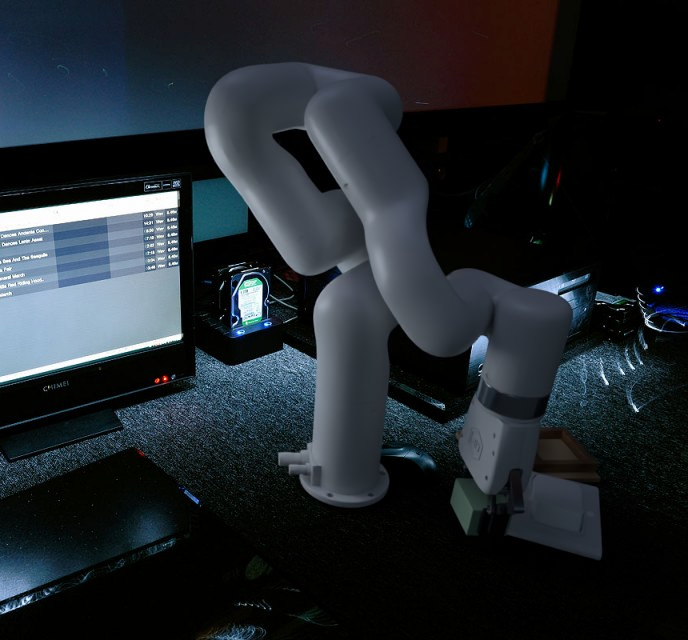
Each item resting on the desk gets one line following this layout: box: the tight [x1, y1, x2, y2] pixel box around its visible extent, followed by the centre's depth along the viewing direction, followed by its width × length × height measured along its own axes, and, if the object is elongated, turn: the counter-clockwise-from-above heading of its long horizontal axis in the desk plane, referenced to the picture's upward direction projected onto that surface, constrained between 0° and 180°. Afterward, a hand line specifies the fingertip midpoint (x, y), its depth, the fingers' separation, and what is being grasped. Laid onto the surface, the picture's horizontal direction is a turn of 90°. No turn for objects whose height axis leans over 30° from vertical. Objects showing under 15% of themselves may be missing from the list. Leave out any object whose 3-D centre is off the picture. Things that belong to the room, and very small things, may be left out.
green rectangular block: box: [449, 477, 512, 537], centre depth 83 cm, size 5×6×4 cm
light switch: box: [507, 471, 603, 561], centre depth 87 cm, size 11×4×13 cm
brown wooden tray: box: [455, 426, 601, 484], centre depth 99 cm, size 16×12×2 cm
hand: (480, 514), depth 84 cm, fingers closed on green rectangular block, 6 cm apart
